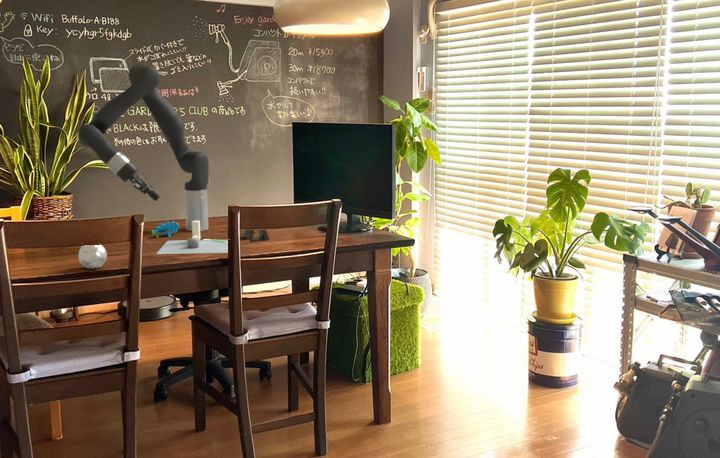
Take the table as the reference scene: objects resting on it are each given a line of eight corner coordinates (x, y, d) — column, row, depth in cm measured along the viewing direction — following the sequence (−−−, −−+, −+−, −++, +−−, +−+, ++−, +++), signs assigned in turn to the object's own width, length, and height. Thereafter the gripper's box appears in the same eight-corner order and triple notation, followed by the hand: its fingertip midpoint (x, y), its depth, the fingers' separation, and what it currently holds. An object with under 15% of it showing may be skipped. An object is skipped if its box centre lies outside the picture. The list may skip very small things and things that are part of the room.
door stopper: (247, 242, 280) (246, 211, 278) (242, 239, 285) (241, 209, 283) (269, 240, 284) (268, 210, 282) (264, 237, 289) (263, 208, 287)
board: (168, 243, 277) (167, 239, 277) (236, 242, 279) (235, 238, 279) (156, 257, 253) (155, 253, 252) (230, 256, 255) (230, 251, 255)
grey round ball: (71, 270, 233) (69, 240, 232) (93, 264, 242) (91, 235, 240) (93, 273, 230) (90, 242, 228) (114, 267, 238) (112, 237, 237)
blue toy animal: (177, 231, 292) (179, 217, 284) (182, 243, 290) (183, 229, 282) (150, 237, 287) (151, 223, 279) (155, 249, 285) (156, 235, 277)
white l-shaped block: (197, 247, 262) (197, 226, 261) (186, 248, 262) (185, 227, 260) (203, 239, 278) (202, 219, 276) (192, 239, 277) (192, 219, 276)
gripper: (125, 161, 260) (161, 194, 263) (133, 158, 273) (167, 189, 276) (111, 175, 260) (147, 208, 263) (119, 172, 273) (154, 203, 276)
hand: (157, 199), depth 270 cm, fingers closed
